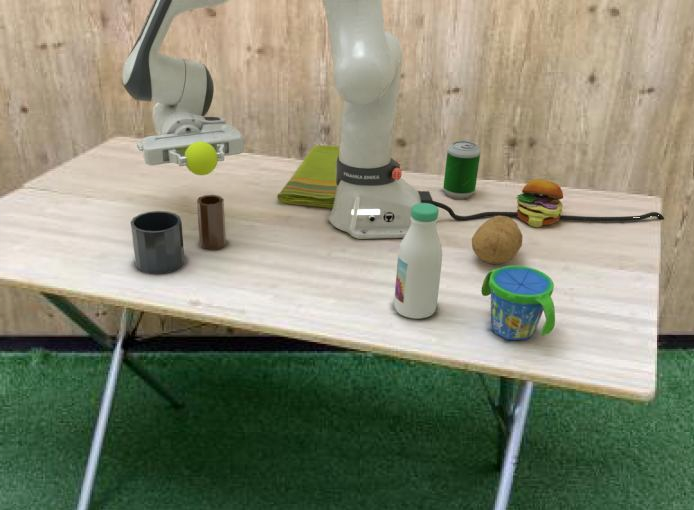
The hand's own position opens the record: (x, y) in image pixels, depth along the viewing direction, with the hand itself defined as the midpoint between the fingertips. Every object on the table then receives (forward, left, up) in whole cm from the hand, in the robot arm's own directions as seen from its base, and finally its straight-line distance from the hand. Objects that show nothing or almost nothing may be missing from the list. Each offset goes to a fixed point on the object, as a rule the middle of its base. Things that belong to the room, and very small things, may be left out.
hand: (202, 159), depth 152 cm
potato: (-59, -4, -19) cm, 62 cm away
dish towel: (-20, -41, -19) cm, 49 cm away
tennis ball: (0, -1, 0) cm, 1 cm away
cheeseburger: (-70, -25, -19) cm, 76 cm away
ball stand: (-1, -2, -19) cm, 19 cm away
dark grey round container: (+8, +7, -19) cm, 22 cm away
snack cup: (-60, +23, -19) cm, 67 cm away
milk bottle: (-43, +18, -19) cm, 50 cm away
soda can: (-53, -36, -19) cm, 66 cm away
